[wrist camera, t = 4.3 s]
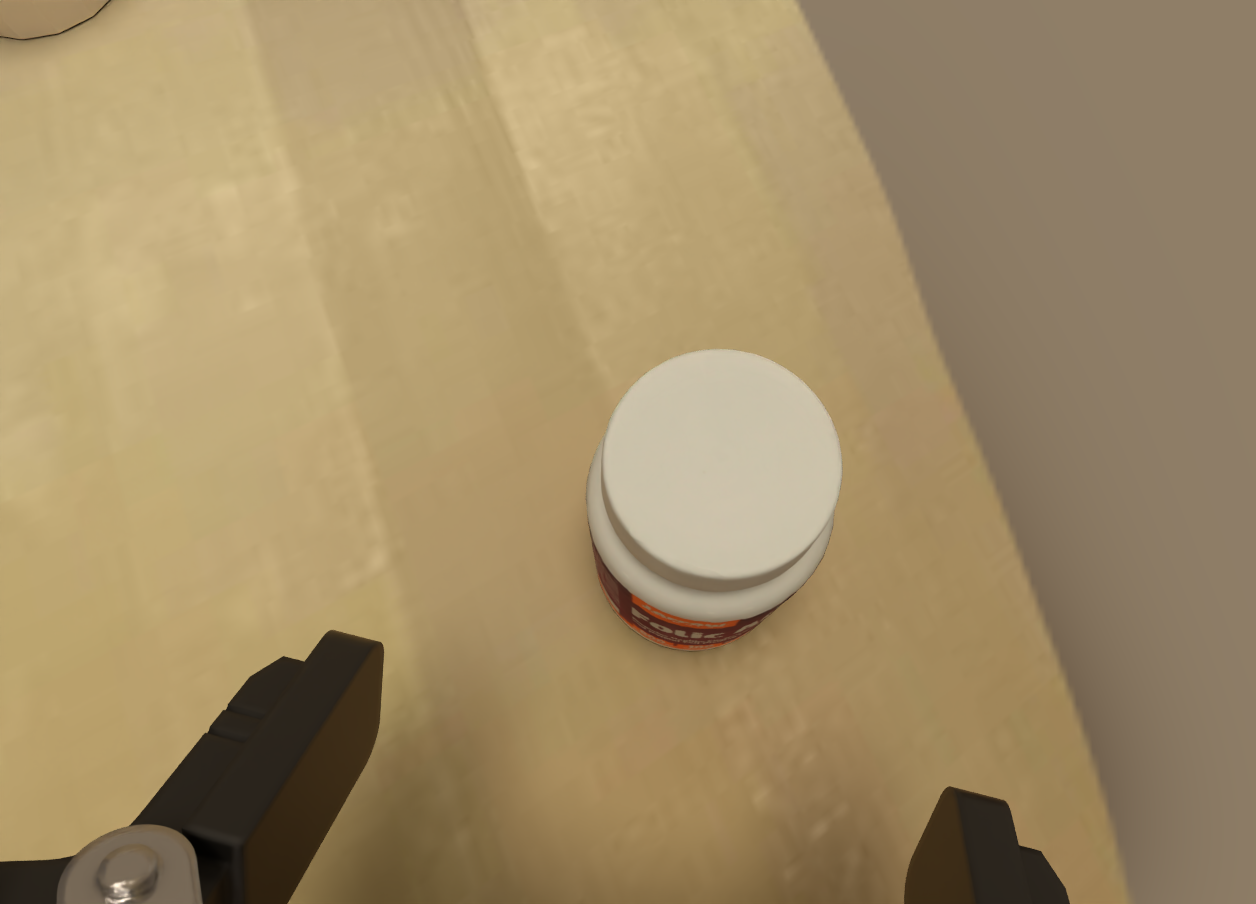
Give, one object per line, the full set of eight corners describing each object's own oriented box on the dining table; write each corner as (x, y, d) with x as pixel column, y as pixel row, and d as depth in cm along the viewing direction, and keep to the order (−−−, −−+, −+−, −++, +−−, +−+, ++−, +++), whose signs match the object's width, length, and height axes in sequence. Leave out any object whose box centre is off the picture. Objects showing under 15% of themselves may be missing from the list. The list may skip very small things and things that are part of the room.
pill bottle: (622, 675, 23) (617, 637, 15) (576, 489, 24) (547, 362, 16) (811, 625, 23) (907, 562, 15) (755, 445, 24) (815, 298, 16)
